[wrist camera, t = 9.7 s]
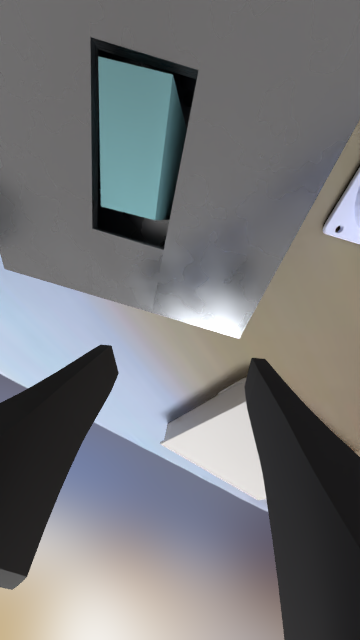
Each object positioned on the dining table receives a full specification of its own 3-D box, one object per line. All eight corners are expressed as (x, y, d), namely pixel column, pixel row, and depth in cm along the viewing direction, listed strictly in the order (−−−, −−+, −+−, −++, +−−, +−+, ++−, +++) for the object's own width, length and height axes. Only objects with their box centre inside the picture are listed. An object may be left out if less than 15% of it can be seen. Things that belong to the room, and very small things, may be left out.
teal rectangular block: (188, 136, 12) (173, 74, 7) (174, 219, 14) (155, 220, 9) (145, 126, 12) (98, 56, 7) (139, 210, 15) (100, 206, 9)
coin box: (343, 58, 10) (489, -117, 5) (230, 304, 18) (239, 338, 13) (34, -37, 10) (-159, -320, 5) (63, 254, 18) (4, 268, 13)
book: (257, 500, 34) (159, 444, 28) (253, 475, 37) (165, 420, 31) (364, 482, 25) (254, 397, 20) (346, 452, 28) (248, 371, 23)
